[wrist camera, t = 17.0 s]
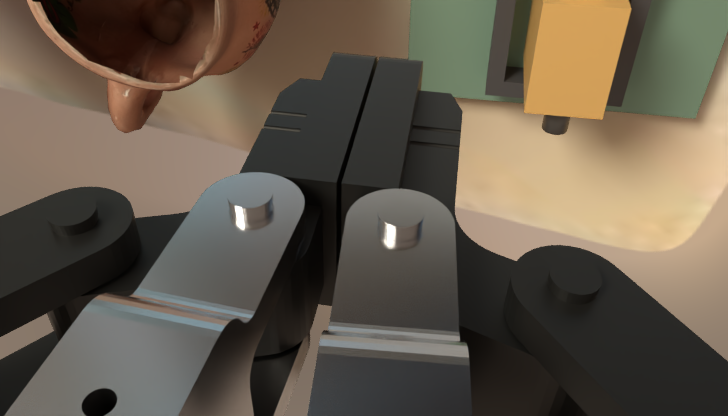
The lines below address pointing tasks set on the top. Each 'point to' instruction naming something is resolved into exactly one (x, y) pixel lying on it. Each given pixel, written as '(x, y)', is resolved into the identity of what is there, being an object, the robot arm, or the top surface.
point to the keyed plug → (571, 58)
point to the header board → (507, 40)
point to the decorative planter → (154, 44)
